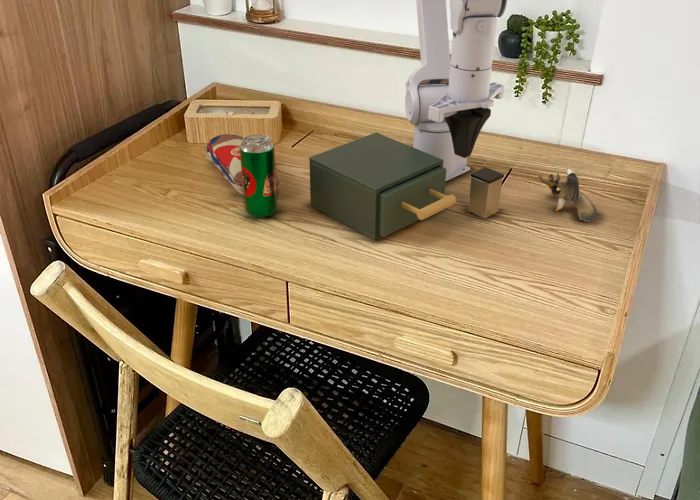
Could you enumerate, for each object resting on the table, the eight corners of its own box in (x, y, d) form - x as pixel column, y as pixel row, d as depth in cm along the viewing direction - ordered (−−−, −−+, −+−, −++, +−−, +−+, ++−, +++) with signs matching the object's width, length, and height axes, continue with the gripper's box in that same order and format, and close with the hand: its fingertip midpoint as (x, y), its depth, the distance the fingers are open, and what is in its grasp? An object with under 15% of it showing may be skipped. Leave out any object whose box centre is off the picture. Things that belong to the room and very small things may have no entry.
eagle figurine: (526, 198, 112) (569, 213, 105) (545, 156, 112) (589, 168, 104) (556, 213, 117) (598, 228, 109) (574, 173, 116) (618, 185, 109)
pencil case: (213, 207, 112) (210, 178, 109) (205, 155, 128) (202, 129, 125) (283, 199, 114) (281, 171, 112) (266, 150, 130) (264, 124, 128)
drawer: (467, 218, 107) (471, 179, 104) (407, 250, 100) (410, 208, 96) (382, 179, 119) (383, 141, 115) (322, 204, 111) (321, 165, 107)
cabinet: (439, 208, 112) (443, 159, 107) (374, 240, 104) (376, 189, 99) (375, 178, 121) (376, 132, 116) (310, 205, 112) (309, 157, 108)
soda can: (272, 220, 108) (267, 148, 102) (240, 217, 109) (234, 145, 103) (281, 205, 113) (277, 134, 106) (251, 202, 113) (245, 131, 107)
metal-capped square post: (480, 203, 113) (485, 166, 110) (499, 211, 111) (504, 174, 108) (466, 210, 111) (470, 173, 108) (485, 219, 109) (489, 181, 106)
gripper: (460, 83, 91) (451, 178, 99) (526, 60, 100) (513, 149, 107) (419, 70, 96) (413, 162, 103) (485, 49, 104) (476, 135, 111)
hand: (462, 154), depth 105 cm, fingers closed
